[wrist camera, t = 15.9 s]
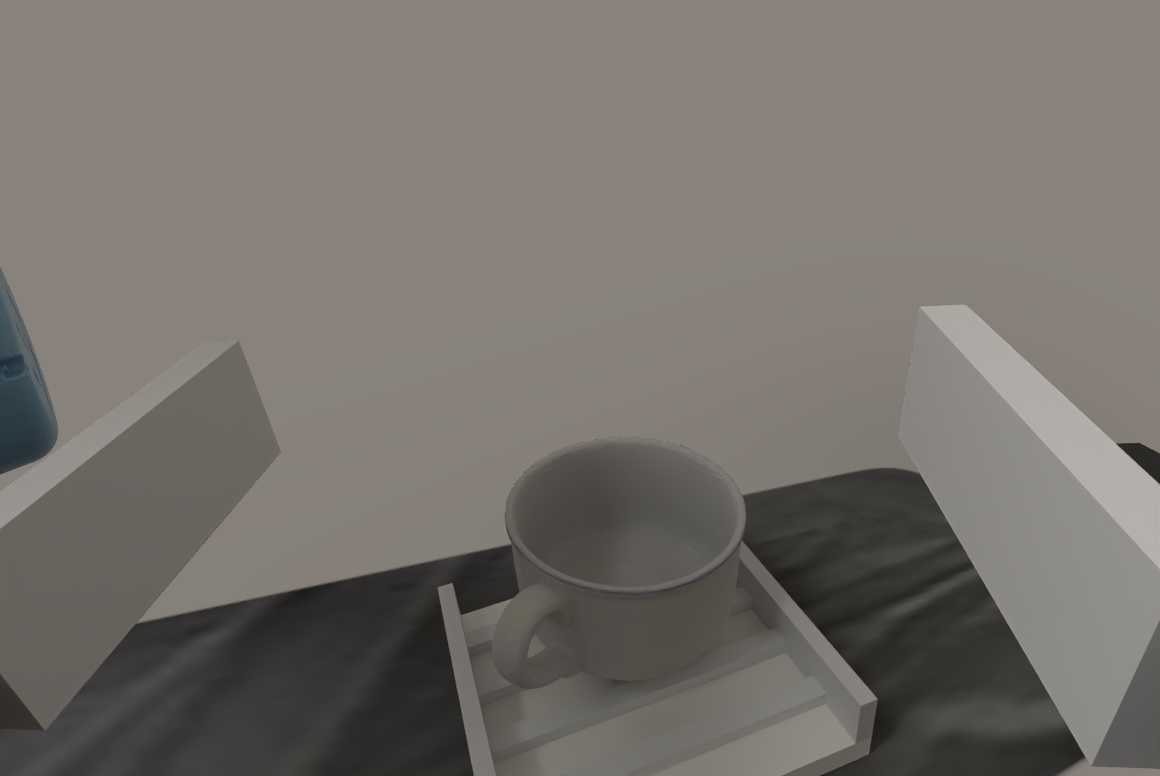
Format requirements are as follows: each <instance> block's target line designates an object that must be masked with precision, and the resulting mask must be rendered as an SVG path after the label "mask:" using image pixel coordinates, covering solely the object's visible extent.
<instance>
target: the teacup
mask: <svg viewBox="0 0 1160 776" xmlns="http://www.w3.org/2000/svg"><path fill="white" fill-rule="evenodd" d="M505 522H506V529H507V533H508V535H509V538H510V540H511V543H512V551H513V558H514V565H515V571H516V577H517V582H518V587H519V593H518V594H517V595H516V596H515V597H514V598H513V599H512V600H511V601H510V602H509V604H508V605H507V606H506V608H505V609H504V611H503V612H502V614H501V616H500V618H499V620H498V622H497V625H496V629H495V632H494V636H493V640H492V659H493V663H494V666H495V668H496V670H497V671H498V672H499V673H500V675H501V676H502V677H503V678H504V679H506V680H507V681H508V682H510V683H512V684H514V685H516V686H518V687H521V688H525V689H536V688H541V687H544V686H546V685H549V684H551V683H553V682H555V681H556V680H558V679H560V678H561V677H563V678H571V677H573V676H575V675H576V674H577V673H579V672H580V671H583V672H585V673H588V674H590V675H594V676H598V677H602V678H606V679H612V680H623V681H638V680H648V679H654V678H658V677H661V676H665V675H668V674H670V673H673V672H675V671H678V670H680V669H682V668H684V667H686V666H687V665H689V664H691V663H692V662H694V661H695V660H697V659H698V658H699V657H700V656H702V655H703V654H704V653H705V652H706V651H707V650H708V649H709V648H710V647H711V646H712V645H713V644H714V642H715V641H716V639H717V638H718V637H719V635H720V634H721V632H722V630H723V628H724V626H725V624H726V622H727V620H728V617H729V614H730V611H731V608H732V604H733V599H734V594H735V589H736V582H737V576H738V567H739V558H740V547H741V541H742V539H743V535H744V532H745V528H746V506H745V503H744V499H743V496H742V494H741V492H740V490H739V489H738V487H737V485H736V484H735V482H734V481H733V479H732V478H731V477H730V476H729V475H728V474H727V473H726V472H725V471H723V469H721V468H720V467H719V466H717V465H716V464H715V463H713V462H712V461H710V460H709V459H707V458H706V457H704V456H702V455H700V454H698V453H696V452H694V451H692V450H691V449H689V448H686V447H684V446H682V445H676V444H672V443H668V442H664V441H660V440H656V439H649V438H639V437H611V438H603V439H595V440H591V441H586V442H581V443H576V444H574V445H571V446H568V447H564V448H563V449H561V450H558V451H555V452H553V453H551V454H549V455H547V456H546V457H544V458H542V459H540V460H539V461H537V462H536V463H534V464H533V465H532V466H531V467H530V468H529V469H527V470H526V471H525V472H524V474H523V475H522V476H521V477H520V478H519V480H518V481H517V482H516V483H515V484H514V487H513V488H512V489H511V491H510V493H509V496H508V498H507V502H506V512H505ZM534 633H536V635H537V636H538V637H539V639H540V640H541V641H542V642H543V644H544V645H545V646H546V647H547V648H546V649H544V650H543V651H541V652H539V653H537V654H535V655H534V656H531V657H529V658H527V654H528V650H529V646H530V642H531V639H532V637H533V635H534Z"/></svg>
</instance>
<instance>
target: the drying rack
mask: <svg viewBox="0 0 1160 776" xmlns="http://www.w3.org/2000/svg"><path fill="white" fill-rule="evenodd" d="M437 588H438V593H439V598H440V603H441V609H442V614H443V619H444V624H445V629H446V634H447V639H448V645H449V650H450V655H451V660H452V665H453V670H454V675H455V681H456V686H457V691H458V696H459V701H460V706H461V712H462V717H463V722H464V727H465V732H466V737H467V742H468V748H469V753H470V758H471V763H472V768H473V773H474V776H821V775H823V774H825V773H827V772H830V771H832V770H834V769H837V768H839V767H841V766H844V765H846V764H848V763H850V762H853V761H855V760H857V759H860V758H862V757H864V756H866V755H869V751H870V745H871V738H872V732H873V726H874V719H875V713H876V707H877V700H878V699H877V698H876V696H875V695H874V694H873V693H872V692H871V691H870V689H869V688H868V687H867V686H866V685H865V684H864V682H863V681H862V680H861V679H860V678H859V677H858V675H857V674H856V673H855V672H854V671H853V670H852V668H851V667H850V666H849V665H848V664H847V663H846V661H845V660H844V659H843V658H842V657H841V656H840V654H839V653H838V652H837V651H836V650H835V649H834V647H833V646H832V645H831V644H830V643H829V642H828V640H827V639H826V638H825V637H824V636H823V635H822V633H821V632H820V631H819V630H818V629H817V628H816V626H815V625H814V624H813V623H812V622H811V621H810V619H809V618H808V617H807V616H806V615H805V614H804V612H803V611H802V610H801V609H800V608H799V607H798V605H797V604H796V603H795V602H794V601H793V600H792V598H791V597H790V596H789V595H788V594H787V593H786V591H785V590H784V589H783V588H782V587H781V586H780V584H779V583H778V582H777V581H776V580H775V579H774V577H773V576H772V575H771V574H770V573H769V571H768V570H767V569H766V568H765V567H764V566H763V564H762V563H761V562H760V561H759V560H758V559H757V557H756V556H755V555H754V554H753V553H752V552H751V550H750V549H749V548H748V547H747V546H746V545H745V543H744V542H743V541H741V547H740V558H739V567H738V576H737V582H736V589H735V594H734V599H733V604H732V608H731V611H730V614H729V617H728V620H727V622H726V624H725V626H724V628H723V630H722V632H721V634H720V635H719V637H718V638H717V639H716V641H715V642H714V644H713V645H712V646H711V647H710V648H709V649H708V650H707V651H706V652H705V653H704V654H703V655H702V656H700V657H699V658H698V659H697V660H695V661H694V662H692V663H691V664H689V665H687V666H686V667H684V668H682V669H680V670H678V671H675V672H673V673H670V674H668V675H665V676H661V677H658V678H654V679H648V680H638V681H623V680H612V679H606V678H602V677H598V676H594V675H590V674H588V673H585V672H583V671H580V672H579V673H577V674H576V675H575V676H573V677H571V678H563V677H561V678H560V679H558V680H556V681H555V682H553V683H551V684H549V685H546V686H544V687H541V688H536V689H525V688H521V687H518V686H516V685H514V684H512V683H510V682H508V681H507V680H506V679H504V678H503V677H502V676H501V675H500V673H499V672H498V671H497V670H496V668H495V666H494V663H493V659H492V640H493V636H494V632H495V629H496V625H497V622H498V620H499V618H500V616H501V614H502V612H503V611H504V609H505V608H506V606H507V605H508V604H509V602H510V601H511V600H512V599H510V600H507V601H504V602H501V603H497V604H494V605H491V606H488V607H485V608H482V609H479V610H476V611H473V612H470V613H466V614H463V615H461V613H460V609H459V606H458V602H457V598H456V594H455V591H454V587H453V583H450V584H447V585H444V586H440V587H437ZM546 648H547V647H546V646H545V645H544V644H543V642H542V641H541V640H540V639H539V637H538V636H537V635H536V633H534V635H533V637H532V639H531V642H530V646H529V650H528V654H527V658H529V657H531V656H534V655H535V654H537V653H539V652H541V651H543V650H544V649H546Z"/></svg>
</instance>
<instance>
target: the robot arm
mask: <svg viewBox="0 0 1160 776" xmlns="http://www.w3.org/2000/svg"><path fill="white" fill-rule="evenodd" d="M57 436H58V426H57V421H56V416H55V413H54V409H53V405H52V402H51V398H50V395H49V393H48V389H47V386H46V383H45V380H44V377H43V374H42V371H41V368H40V365H39V362H38V359H37V357H36V354H35V351H34V348H33V345H32V343H31V340H30V337H29V335H28V332H27V330H26V327H25V324H24V322H23V320H22V317H21V314H20V312H19V309H18V307H17V305H16V302H15V300H14V297H13V294H12V292H11V290H10V288H9V285H8V283H7V281H6V279H5V276H4V274H3V272H2V270H1V269H0V474H3V473H5V472H8V471H10V470H13V469H16V468H19V467H21V466H24V465H27V464H29V463H32V462H35V461H37V460H39V459H41V458H42V457H44V456H45V455H47V454H48V453H49V452H50V451H51V449H52V448H53V447H54V445H55V443H56V440H57ZM898 436H899V438H900V440H901V442H902V443H903V445H904V447H905V448H906V450H907V452H908V454H909V455H910V457H911V458H912V461H913V462H914V464H915V466H916V467H917V469H918V471H919V472H920V474H921V476H922V478H923V479H924V481H925V483H926V484H927V486H928V488H929V490H930V491H931V493H932V495H933V496H934V498H935V500H936V502H937V503H938V505H939V507H940V508H941V510H942V512H943V514H944V515H945V517H946V519H947V520H948V522H949V524H950V526H951V527H952V529H953V531H954V532H955V534H956V536H957V538H958V539H959V541H960V543H961V544H962V546H963V548H964V550H965V551H966V553H967V555H968V556H969V558H970V560H971V562H972V563H973V565H974V567H975V568H976V570H977V572H978V573H979V575H980V577H981V579H982V580H983V582H984V584H985V585H986V587H987V589H988V591H989V592H990V594H991V596H992V597H993V599H994V601H995V603H996V604H997V606H998V608H999V609H1000V611H1001V613H1002V615H1003V616H1004V618H1005V620H1006V621H1007V623H1008V625H1009V627H1010V628H1011V630H1012V632H1013V633H1014V635H1015V637H1016V639H1017V640H1018V642H1019V644H1020V645H1021V647H1022V649H1023V651H1024V652H1025V654H1026V656H1027V657H1028V659H1029V661H1030V663H1031V664H1032V666H1033V668H1034V669H1035V671H1036V673H1037V674H1038V676H1039V678H1040V680H1041V681H1042V683H1043V685H1044V686H1045V688H1046V690H1047V692H1048V693H1049V695H1050V697H1051V698H1052V700H1053V702H1054V704H1055V705H1056V707H1057V709H1058V710H1059V712H1060V714H1061V716H1062V717H1063V719H1064V721H1065V722H1066V724H1067V726H1068V728H1069V729H1070V731H1071V733H1072V734H1073V736H1074V738H1075V740H1076V741H1077V743H1078V745H1079V746H1080V748H1081V750H1082V752H1083V753H1084V755H1085V757H1086V758H1087V760H1088V762H1089V764H1090V765H1091V766H1097V767H1129V768H1158V769H1160V453H1158V452H1156V451H1154V450H1152V449H1150V448H1148V447H1146V446H1144V445H1142V444H1140V443H1124V444H1115V443H1114V442H1113V441H1112V440H1111V439H1110V438H1109V437H1108V436H1107V435H1106V434H1104V433H1103V432H1102V431H1101V430H1100V429H1099V428H1098V427H1097V426H1096V425H1095V424H1094V423H1093V422H1092V421H1090V420H1089V419H1088V418H1087V417H1086V416H1085V415H1084V414H1083V413H1082V412H1081V411H1080V410H1079V409H1078V408H1077V407H1075V406H1074V405H1073V404H1072V403H1071V402H1070V401H1069V400H1068V399H1067V398H1066V397H1065V396H1064V395H1062V394H1061V393H1060V392H1059V391H1058V390H1057V389H1056V388H1055V387H1054V386H1053V385H1052V384H1051V383H1049V382H1048V381H1047V380H1046V379H1045V378H1044V377H1043V376H1042V375H1041V374H1040V373H1039V372H1038V371H1036V370H1035V369H1034V368H1033V367H1032V366H1031V365H1030V364H1029V363H1028V362H1027V361H1026V360H1025V359H1024V358H1022V357H1021V356H1020V355H1019V354H1018V353H1017V352H1016V351H1015V350H1014V349H1013V348H1012V347H1011V346H1009V345H1008V344H1007V343H1006V342H1005V341H1004V340H1003V339H1002V338H1001V337H1000V336H999V335H998V334H997V333H996V332H994V331H993V330H992V329H991V328H990V327H989V326H988V325H987V324H986V323H985V322H984V321H983V320H981V319H980V318H979V317H978V316H977V315H976V314H975V313H974V312H973V311H972V310H971V309H970V308H969V307H967V306H966V305H949V306H948V305H947V306H929V307H928V306H927V307H920V308H919V314H918V320H917V326H916V332H915V338H914V345H913V350H912V356H911V362H910V369H909V374H908V380H907V386H906V393H905V399H904V405H903V410H902V416H901V423H900V429H899V435H898ZM280 453H281V451H280V448H279V446H278V443H277V440H276V437H275V435H274V432H273V429H272V427H271V424H270V422H269V419H268V416H267V414H266V411H265V408H264V406H263V403H262V401H261V398H260V396H259V393H258V390H257V387H256V385H255V382H254V380H253V377H252V374H251V372H250V369H249V367H248V364H247V361H246V359H245V356H244V353H243V351H242V348H241V345H240V343H239V341H219V342H204V343H203V344H201V345H200V346H198V347H197V348H196V349H194V350H193V351H192V352H190V353H189V354H187V355H186V356H185V357H183V358H182V359H181V360H180V361H178V362H177V363H175V364H174V365H173V366H171V367H170V368H168V369H167V370H166V371H164V372H163V373H162V374H160V375H159V376H157V378H155V379H153V380H152V381H151V382H149V383H148V384H147V385H145V386H144V387H142V388H141V389H140V390H138V391H137V392H136V393H134V394H133V395H132V396H130V397H129V398H128V399H126V400H125V401H123V402H122V403H121V404H119V405H118V406H117V407H115V408H114V409H112V410H111V411H110V412H108V413H107V414H106V415H104V416H103V417H102V418H100V419H99V420H98V421H96V422H95V423H93V424H92V425H91V426H89V427H88V428H87V429H86V430H84V431H82V432H81V433H80V434H78V435H77V436H76V437H74V438H73V439H71V440H70V441H69V442H68V443H66V444H65V445H64V446H62V447H61V448H59V449H58V450H56V451H55V452H54V453H52V454H51V455H50V456H48V457H47V458H46V459H44V460H43V461H41V462H40V463H39V464H37V465H36V466H35V467H33V468H32V469H31V470H29V471H28V472H27V473H25V474H24V475H22V476H21V477H20V478H18V479H17V480H16V481H14V482H13V483H11V484H10V485H9V486H7V487H6V488H5V489H3V490H2V491H1V492H0V729H10V730H39V731H45V730H46V729H47V728H48V727H49V725H50V724H51V723H52V722H53V721H54V720H55V718H56V717H57V716H58V715H59V714H60V712H61V711H62V710H63V709H64V708H65V707H66V705H67V704H68V703H69V702H70V701H71V700H72V698H73V697H74V696H75V695H76V694H77V692H78V691H79V690H80V689H81V688H82V687H83V685H84V684H85V683H86V682H87V681H88V679H89V678H90V677H91V676H92V675H93V674H94V672H95V671H96V670H97V669H98V668H99V666H100V665H101V664H102V663H103V662H104V661H105V659H106V658H107V657H108V656H109V655H110V653H111V652H112V651H113V650H114V649H115V648H116V646H117V645H118V644H119V643H120V642H121V640H122V639H123V638H124V637H125V636H126V635H127V633H128V632H129V631H130V630H131V629H132V627H133V626H134V625H135V624H136V623H137V622H138V620H139V619H140V618H141V617H142V616H143V614H144V613H145V612H146V611H147V610H148V608H149V607H150V606H151V605H152V604H153V603H154V601H155V600H156V599H157V598H158V597H159V596H160V594H161V593H162V592H163V591H164V590H165V588H166V587H167V586H168V585H169V584H170V583H171V581H172V580H173V579H174V578H175V577H176V576H177V574H178V573H179V572H180V571H181V570H182V568H183V567H184V566H185V565H186V563H188V561H189V560H190V559H191V558H192V557H193V555H194V554H195V553H196V552H197V551H198V550H199V548H200V547H201V546H202V545H203V544H204V542H205V541H206V540H207V539H208V538H209V537H210V535H211V534H212V533H213V532H214V531H215V529H216V528H217V527H218V526H219V525H220V523H221V522H222V521H223V520H224V519H225V518H226V516H227V515H228V514H229V513H230V512H231V511H232V509H233V508H234V507H235V506H236V505H237V503H238V502H239V501H240V500H241V499H242V498H243V496H244V495H245V494H246V493H247V491H248V490H249V489H250V488H251V487H252V486H253V484H254V483H255V482H256V481H257V480H258V479H259V477H260V476H261V475H262V474H263V473H264V472H265V470H266V469H267V468H268V467H269V466H270V464H271V463H272V462H273V461H274V460H275V459H276V457H277V456H278V455H279V454H280Z"/></svg>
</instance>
